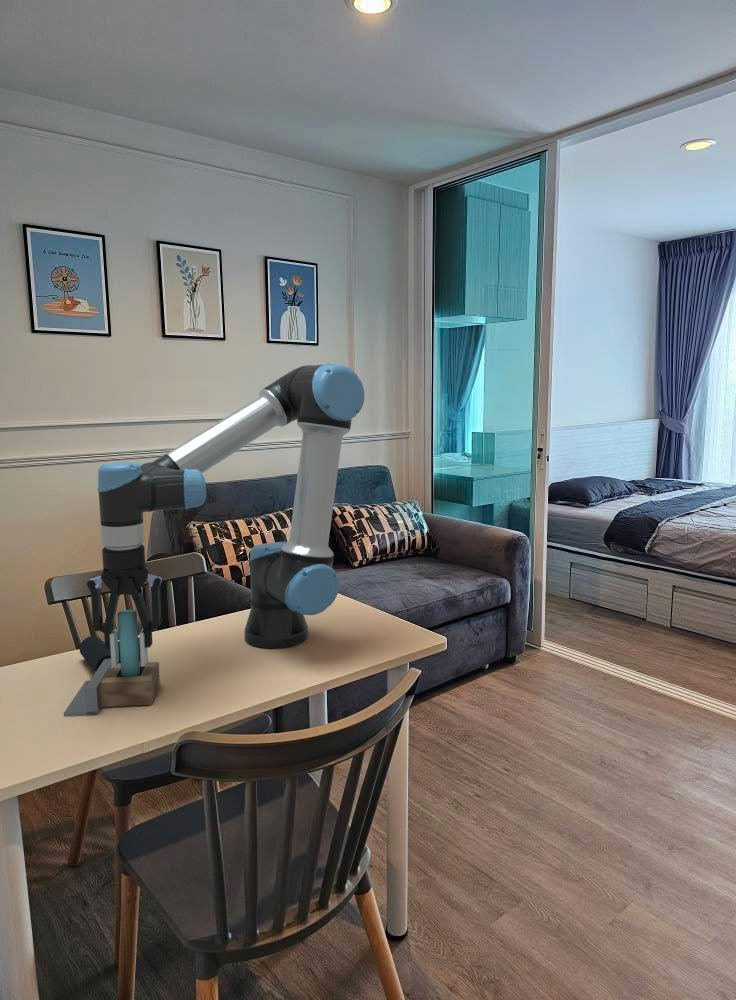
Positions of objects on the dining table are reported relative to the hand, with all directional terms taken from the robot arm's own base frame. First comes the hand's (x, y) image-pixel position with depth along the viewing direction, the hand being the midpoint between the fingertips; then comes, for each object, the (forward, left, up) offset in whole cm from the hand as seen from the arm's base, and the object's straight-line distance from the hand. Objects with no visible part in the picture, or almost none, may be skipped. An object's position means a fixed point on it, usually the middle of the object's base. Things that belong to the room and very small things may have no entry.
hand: (130, 663), depth 131 cm
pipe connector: (+7, -15, -7) cm, 18 cm away
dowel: (0, 0, -6) cm, 6 cm away
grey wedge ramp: (+8, 0, -7) cm, 10 cm away
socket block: (0, 0, -7) cm, 7 cm away
